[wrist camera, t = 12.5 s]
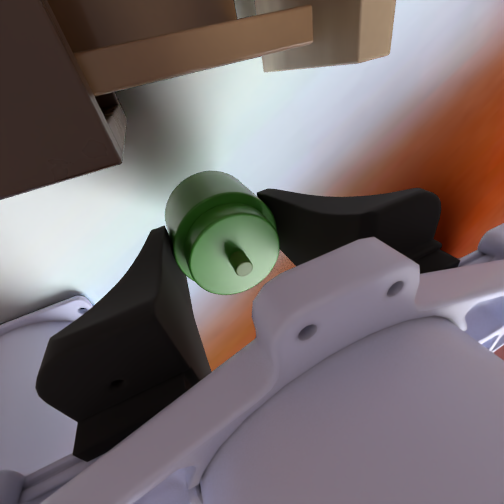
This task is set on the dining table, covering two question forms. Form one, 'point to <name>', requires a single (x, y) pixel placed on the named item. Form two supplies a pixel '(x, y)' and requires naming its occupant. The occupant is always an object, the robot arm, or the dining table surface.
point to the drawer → (217, 36)
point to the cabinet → (49, 105)
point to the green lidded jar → (221, 233)
